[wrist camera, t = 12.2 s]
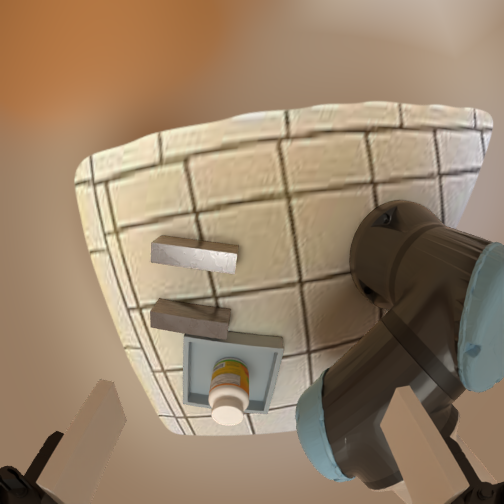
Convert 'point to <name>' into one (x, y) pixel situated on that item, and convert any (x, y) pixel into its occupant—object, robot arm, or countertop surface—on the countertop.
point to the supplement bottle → (229, 391)
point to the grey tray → (239, 347)
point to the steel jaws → (187, 314)
